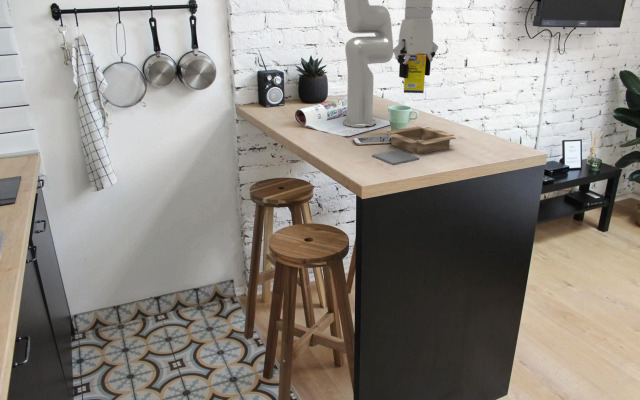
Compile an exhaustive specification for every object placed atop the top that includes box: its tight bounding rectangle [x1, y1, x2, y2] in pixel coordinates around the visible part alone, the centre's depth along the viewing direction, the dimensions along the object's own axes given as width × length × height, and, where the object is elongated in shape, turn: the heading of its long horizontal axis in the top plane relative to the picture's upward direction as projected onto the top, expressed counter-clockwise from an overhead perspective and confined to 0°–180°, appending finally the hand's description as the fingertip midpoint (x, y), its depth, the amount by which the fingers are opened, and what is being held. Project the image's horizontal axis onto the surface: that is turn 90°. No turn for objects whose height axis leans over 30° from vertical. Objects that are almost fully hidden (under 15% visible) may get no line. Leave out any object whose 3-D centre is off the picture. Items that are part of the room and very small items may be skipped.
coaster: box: [371, 149, 420, 166], centre depth 157 cm, size 10×10×1 cm
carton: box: [386, 125, 457, 155], centre depth 168 cm, size 18×18×4 cm
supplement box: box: [403, 54, 426, 94], centre depth 155 cm, size 6×6×11 cm
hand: (414, 76), depth 155 cm, fingers closed on supplement box, 8 cm apart
